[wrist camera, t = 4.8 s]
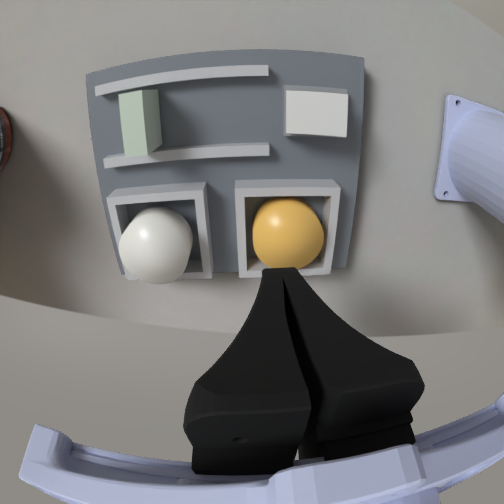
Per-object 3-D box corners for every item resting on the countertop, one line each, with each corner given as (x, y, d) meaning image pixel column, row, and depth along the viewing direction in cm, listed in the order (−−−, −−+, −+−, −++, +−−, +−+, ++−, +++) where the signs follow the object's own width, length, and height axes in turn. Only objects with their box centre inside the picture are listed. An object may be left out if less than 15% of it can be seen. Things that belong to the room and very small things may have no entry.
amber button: (318, 194, 17) (326, 207, 16) (313, 252, 19) (320, 269, 18) (251, 195, 17) (252, 208, 15) (252, 254, 19) (253, 271, 18)
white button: (189, 204, 16) (182, 219, 15) (196, 264, 18) (192, 283, 17) (124, 208, 16) (111, 223, 14) (137, 265, 18) (127, 284, 17)
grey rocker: (345, 94, 13) (348, 94, 12) (344, 134, 14) (346, 137, 13) (287, 90, 13) (286, 90, 13) (287, 130, 15) (286, 133, 14)
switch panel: (355, 59, 14) (374, 56, 12) (339, 256, 22) (351, 280, 19) (96, 74, 14) (73, 74, 12) (127, 263, 21) (115, 286, 19)
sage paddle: (158, 89, 14) (141, 90, 11) (162, 144, 15) (147, 154, 13) (137, 92, 14) (118, 94, 11) (142, 146, 15) (125, 157, 13)
